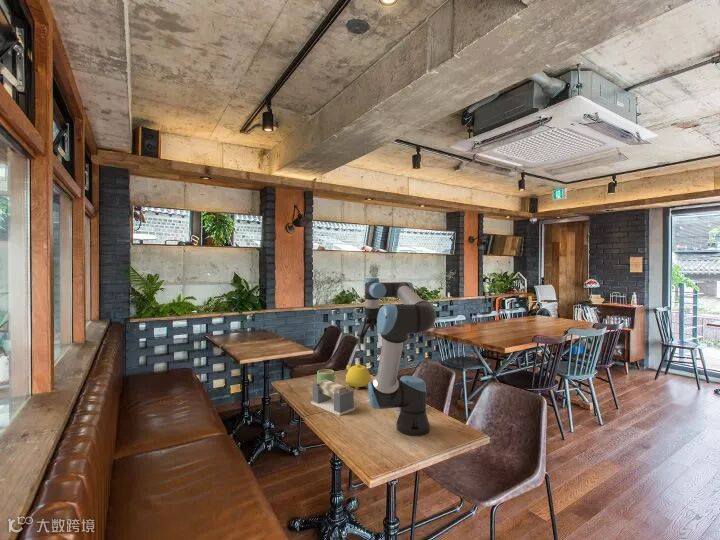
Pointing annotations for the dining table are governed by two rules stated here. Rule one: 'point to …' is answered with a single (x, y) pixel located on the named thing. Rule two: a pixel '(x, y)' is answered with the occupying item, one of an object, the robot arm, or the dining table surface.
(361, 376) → the teapot
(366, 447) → the dining table surface
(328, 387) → the rail
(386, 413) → the dining table surface
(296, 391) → the dining table surface
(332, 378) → the mug
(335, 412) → the bracket board
